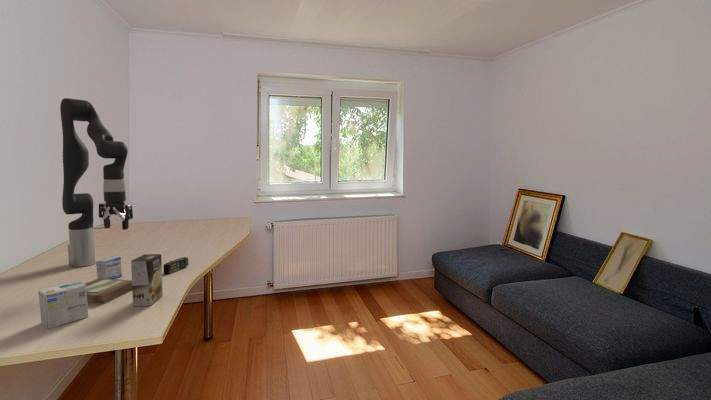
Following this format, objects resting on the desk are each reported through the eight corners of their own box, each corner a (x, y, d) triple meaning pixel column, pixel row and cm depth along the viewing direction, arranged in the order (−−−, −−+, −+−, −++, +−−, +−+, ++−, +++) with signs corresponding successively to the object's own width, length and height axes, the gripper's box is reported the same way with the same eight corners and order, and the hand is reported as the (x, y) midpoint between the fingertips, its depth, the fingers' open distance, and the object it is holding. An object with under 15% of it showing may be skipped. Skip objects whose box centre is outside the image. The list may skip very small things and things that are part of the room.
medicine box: (106, 282, 148) (105, 261, 147) (97, 281, 149) (95, 260, 148) (122, 276, 156) (121, 256, 155) (113, 275, 157) (112, 255, 156)
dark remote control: (167, 264, 158) (191, 255, 173) (161, 264, 159) (186, 254, 174) (167, 275, 159) (191, 265, 173) (162, 275, 160) (186, 264, 174)
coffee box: (151, 306, 126) (149, 260, 124) (132, 306, 126) (130, 260, 124) (163, 296, 135) (161, 253, 133) (145, 296, 135) (143, 253, 133)
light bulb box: (81, 311, 121) (79, 280, 119) (89, 317, 117) (87, 284, 116) (39, 323, 112) (37, 289, 111) (47, 329, 108) (44, 294, 107)
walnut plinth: (62, 301, 129) (61, 292, 128) (98, 285, 145) (98, 277, 144) (103, 304, 127) (103, 294, 127) (136, 288, 143) (136, 279, 142)
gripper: (91, 190, 148) (93, 229, 150) (122, 191, 146) (124, 231, 148) (107, 188, 156) (109, 226, 157) (136, 190, 153) (138, 228, 155)
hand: (116, 228), depth 152 cm, fingers open, 8 cm apart
